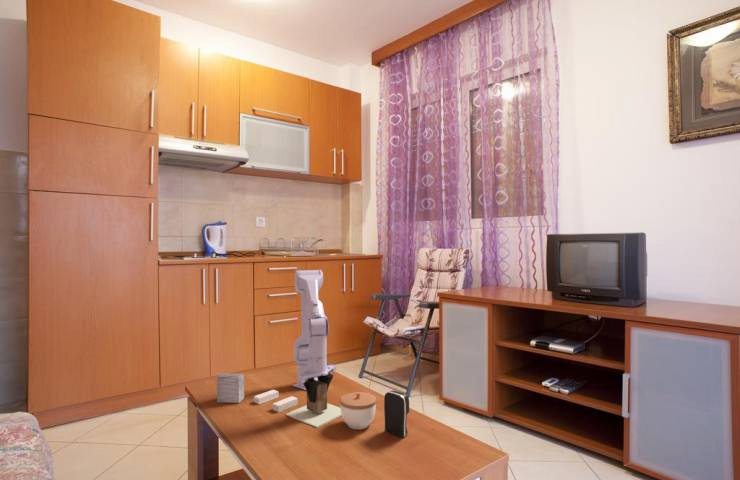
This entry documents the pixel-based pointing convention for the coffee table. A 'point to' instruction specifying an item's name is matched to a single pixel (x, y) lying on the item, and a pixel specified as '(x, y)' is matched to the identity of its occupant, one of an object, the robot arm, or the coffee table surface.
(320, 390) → the walnut block
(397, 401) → the battery charger
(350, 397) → the lidded jar
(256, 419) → the coffee table surface
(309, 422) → the mat
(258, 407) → the coffee table surface
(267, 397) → the slot blocks
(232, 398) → the medicine box
